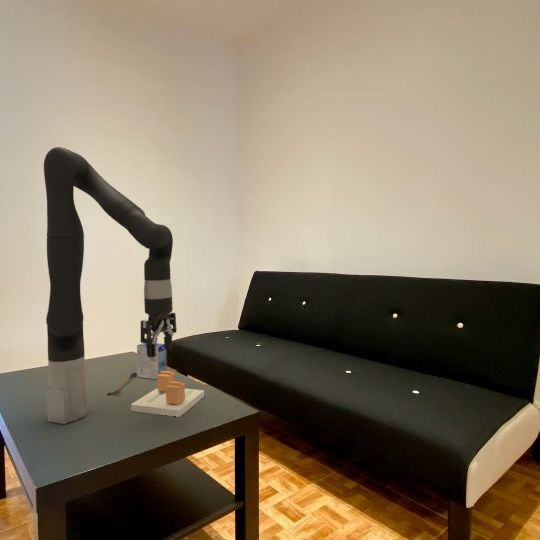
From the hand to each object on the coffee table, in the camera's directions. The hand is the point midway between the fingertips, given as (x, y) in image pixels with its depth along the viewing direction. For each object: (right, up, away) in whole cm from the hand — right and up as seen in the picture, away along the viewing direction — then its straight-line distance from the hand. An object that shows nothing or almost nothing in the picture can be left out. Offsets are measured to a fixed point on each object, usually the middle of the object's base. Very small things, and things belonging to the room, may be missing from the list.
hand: (160, 353), depth 110 cm
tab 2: (+3, -16, +7) cm, 18 cm away
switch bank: (0, -18, +11) cm, 21 cm away
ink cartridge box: (-13, -17, +37) cm, 43 cm away
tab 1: (-3, -15, +17) cm, 23 cm away
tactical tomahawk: (-19, -18, +28) cm, 39 cm away
